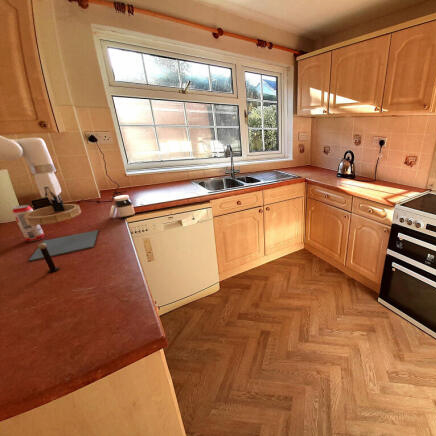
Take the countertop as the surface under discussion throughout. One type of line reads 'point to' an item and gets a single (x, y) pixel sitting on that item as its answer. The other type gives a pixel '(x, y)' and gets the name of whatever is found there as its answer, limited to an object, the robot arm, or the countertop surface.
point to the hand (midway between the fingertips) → (60, 210)
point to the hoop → (39, 218)
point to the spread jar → (122, 207)
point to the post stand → (47, 257)
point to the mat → (67, 244)
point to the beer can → (28, 230)
